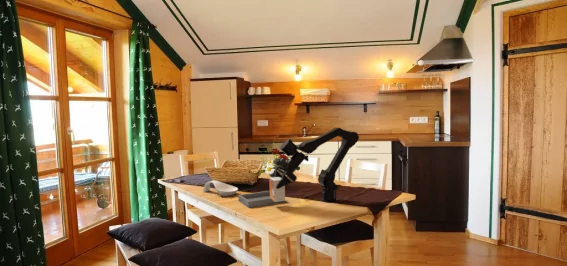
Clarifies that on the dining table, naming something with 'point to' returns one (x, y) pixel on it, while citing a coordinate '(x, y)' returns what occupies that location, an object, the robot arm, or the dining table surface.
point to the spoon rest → (221, 188)
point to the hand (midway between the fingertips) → (274, 186)
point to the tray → (257, 199)
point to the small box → (276, 190)
